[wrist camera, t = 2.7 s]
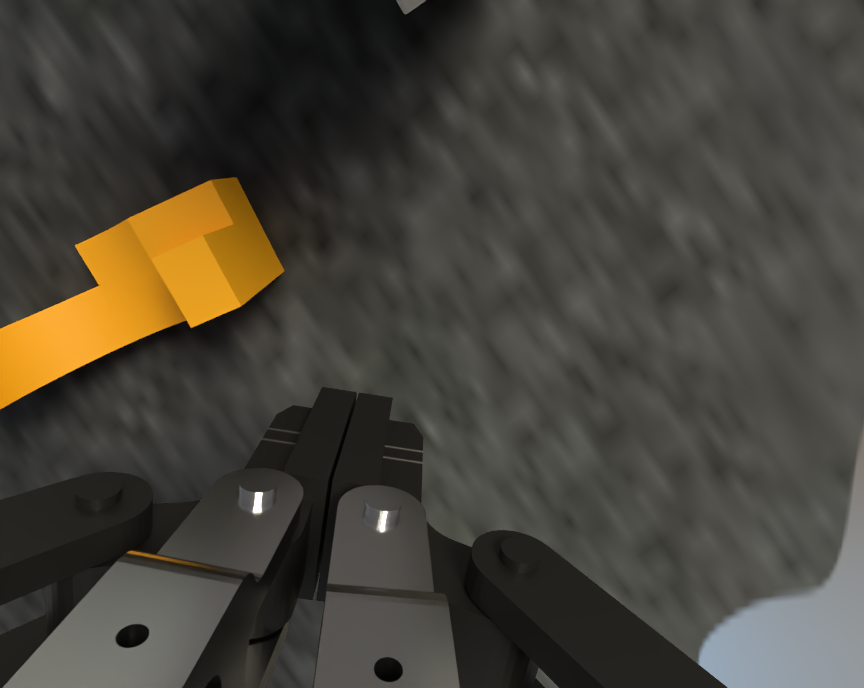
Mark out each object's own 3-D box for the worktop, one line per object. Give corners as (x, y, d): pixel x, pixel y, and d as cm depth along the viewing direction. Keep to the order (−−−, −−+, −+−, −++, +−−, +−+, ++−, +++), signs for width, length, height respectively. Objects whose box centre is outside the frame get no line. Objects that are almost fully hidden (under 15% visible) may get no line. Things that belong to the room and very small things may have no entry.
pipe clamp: (237, 176, 25) (174, 184, 18) (285, 270, 26) (241, 306, 20) (0, 286, 26) (-132, 326, 20) (56, 370, 27) (-52, 432, 21)
